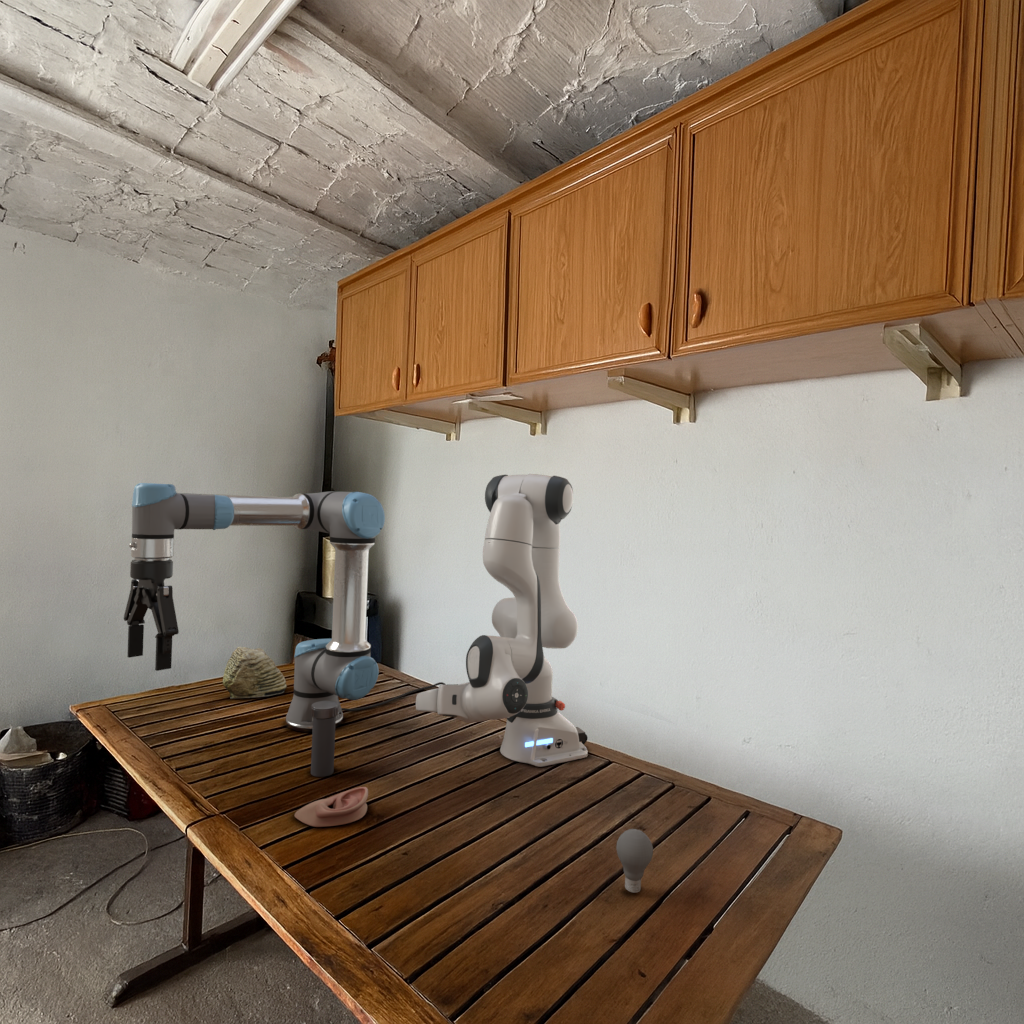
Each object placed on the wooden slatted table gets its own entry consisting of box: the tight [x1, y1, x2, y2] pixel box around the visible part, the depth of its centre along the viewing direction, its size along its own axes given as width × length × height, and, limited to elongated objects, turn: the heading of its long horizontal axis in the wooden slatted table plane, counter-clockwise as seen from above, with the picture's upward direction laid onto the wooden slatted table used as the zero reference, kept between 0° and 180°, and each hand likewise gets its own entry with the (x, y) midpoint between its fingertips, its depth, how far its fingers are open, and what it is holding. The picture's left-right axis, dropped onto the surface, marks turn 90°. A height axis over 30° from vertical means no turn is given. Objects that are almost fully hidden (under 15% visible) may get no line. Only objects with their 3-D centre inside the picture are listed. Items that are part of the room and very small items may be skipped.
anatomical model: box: [294, 786, 369, 828], centre depth 127 cm, size 13×4×12 cm
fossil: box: [222, 646, 288, 699], centre depth 198 cm, size 9×18×15 cm, turn 132°
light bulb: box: [615, 828, 654, 894], centre depth 106 cm, size 6×6×10 cm
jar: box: [310, 716, 336, 778], centre depth 145 cm, size 5×5×15 cm
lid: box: [311, 701, 338, 719], centre depth 145 cm, size 6×6×2 cm
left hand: (148, 662), depth 129 cm, fingers open, 13 cm apart
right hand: (440, 707), depth 154 cm, fingers open, 8 cm apart
